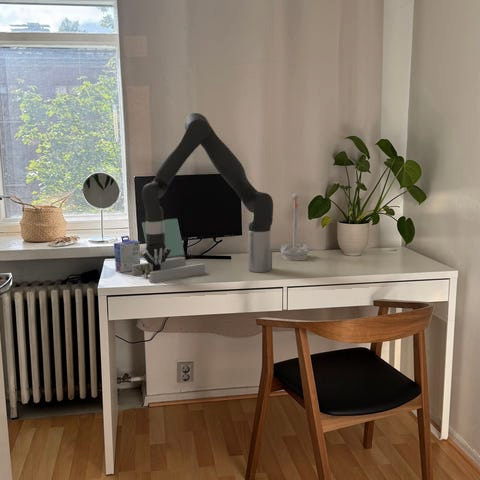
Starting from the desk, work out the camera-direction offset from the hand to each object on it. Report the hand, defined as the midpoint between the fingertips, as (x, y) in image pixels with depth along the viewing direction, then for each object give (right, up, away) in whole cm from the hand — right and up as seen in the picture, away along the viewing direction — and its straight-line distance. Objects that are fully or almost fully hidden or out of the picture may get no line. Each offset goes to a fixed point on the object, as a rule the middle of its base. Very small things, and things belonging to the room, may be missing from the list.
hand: (156, 273), depth 255 cm
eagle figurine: (-3, -2, -4) cm, 5 cm away
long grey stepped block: (+4, 0, +3) cm, 5 cm away
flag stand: (+59, +5, +33) cm, 68 cm away
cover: (+2, +14, +11) cm, 18 cm away
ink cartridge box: (-14, +1, +11) cm, 17 cm away
